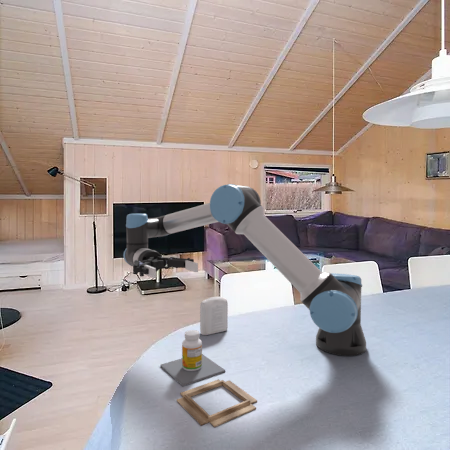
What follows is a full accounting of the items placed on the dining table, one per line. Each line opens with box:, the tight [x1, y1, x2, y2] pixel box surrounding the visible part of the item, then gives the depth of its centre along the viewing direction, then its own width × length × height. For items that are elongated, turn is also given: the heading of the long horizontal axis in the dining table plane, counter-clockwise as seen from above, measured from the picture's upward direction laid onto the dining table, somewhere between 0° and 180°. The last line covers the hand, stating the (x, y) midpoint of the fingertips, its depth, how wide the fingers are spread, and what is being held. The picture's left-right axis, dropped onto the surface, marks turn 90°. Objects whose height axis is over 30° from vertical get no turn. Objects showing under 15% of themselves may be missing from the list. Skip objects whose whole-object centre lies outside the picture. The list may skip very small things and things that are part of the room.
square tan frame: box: [176, 379, 258, 428], centre depth 80 cm, size 15×15×1 cm
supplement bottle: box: [181, 329, 203, 371], centre depth 95 cm, size 5×5×10 cm
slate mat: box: [160, 353, 226, 387], centre depth 96 cm, size 13×13×1 cm
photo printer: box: [199, 296, 229, 336], centre depth 123 cm, size 10×4×12 cm, turn 123°
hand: (176, 270), depth 101 cm, fingers open, 13 cm apart
